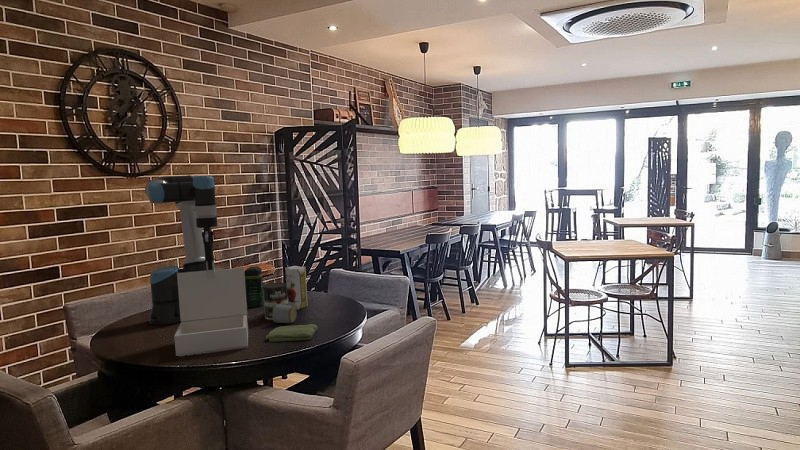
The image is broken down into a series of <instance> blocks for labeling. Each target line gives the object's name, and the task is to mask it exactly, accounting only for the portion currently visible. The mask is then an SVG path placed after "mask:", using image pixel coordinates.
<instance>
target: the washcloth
mask: <svg viewBox="0 0 800 450" xmlns="http://www.w3.org/2000/svg"><path fill="white" fill-rule="evenodd" d="M318 330H319V329H318V326H317V325H316V324H313V323H310V324H298V325H296V324H295V325H285V326H278V327H275V328H274V329H272V330H271V331H270V332H269V334H267V335H266V336H265V339H266V340H269V342H270V343H271V342H276V343H277V342H291V341H292V342H293V341H295V342H296V341H309V340H312V339H313V337H314V335H315V334H316V333H317V331H318Z"/></svg>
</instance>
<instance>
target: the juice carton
mask: <svg viewBox="0 0 800 450" xmlns="http://www.w3.org/2000/svg"><path fill="white" fill-rule="evenodd" d="M285 282H286V284H287V297H288V306H293V307H295V308H296V311H297V310H301V309H304V308H308V305H309V304H308V291H307V290H308V289H307V272H306V266H297V265H292V266H289V267H285Z"/></svg>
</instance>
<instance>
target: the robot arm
mask: <svg viewBox="0 0 800 450" xmlns="http://www.w3.org/2000/svg"><path fill="white" fill-rule="evenodd" d="M215 186H216V184H215V179H214V177H213V176H212V175H203V176H202V175H199V176H198V175H190V174H188V175H173V176H172V175H170V176H168V175H167V176H165V175H164V176H160V177H156V178H153V179H151V180H149V181H148V182H147V183H146V185H145V187H144V191H145V194H146V195H145V196H146V197H148V200H149V202H150V203H151V204H164V203H165V204H167V203H175V207H176V208H178V209H179V214H180V222H181V230H182V239H183V245H184V247H183V248H184V256H185V261H184V262H183V264H182V267H181V268H180V267H179V265H168V266H164V267H161V268H157V269H154V270H152V272H150V274H149V284H150V293H151V304H152V305H151V309H150V312H149V316H148V319H149V322H148V323H149V324H150V325H152V324H153V325H152V326H167V325H172V324H177V323H181V322H182V321H181V320H180V307H179V293H178V280H177V273H186V272H197V271H207V278H215V270H216V266H215V261H216V259H217V258H216V257H215V255H214V236H215V235H214V230H212V228H216V227H217V226H218V217H217V213H218V212H217V211H218V210H217V202H216V189H215ZM166 324H167V325H166Z"/></svg>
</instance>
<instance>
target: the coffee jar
mask: <svg viewBox="0 0 800 450" xmlns="http://www.w3.org/2000/svg"><path fill="white" fill-rule="evenodd" d="M262 272H263V270H262V267H259V266H257V265H256V266H255V265H254V266H249V267H248V268H245V269H244V274H245V288H246V302H247V308H249V307H250V308H257V307H261V306H264V292H263V286H264V285H263V273H262Z"/></svg>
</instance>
